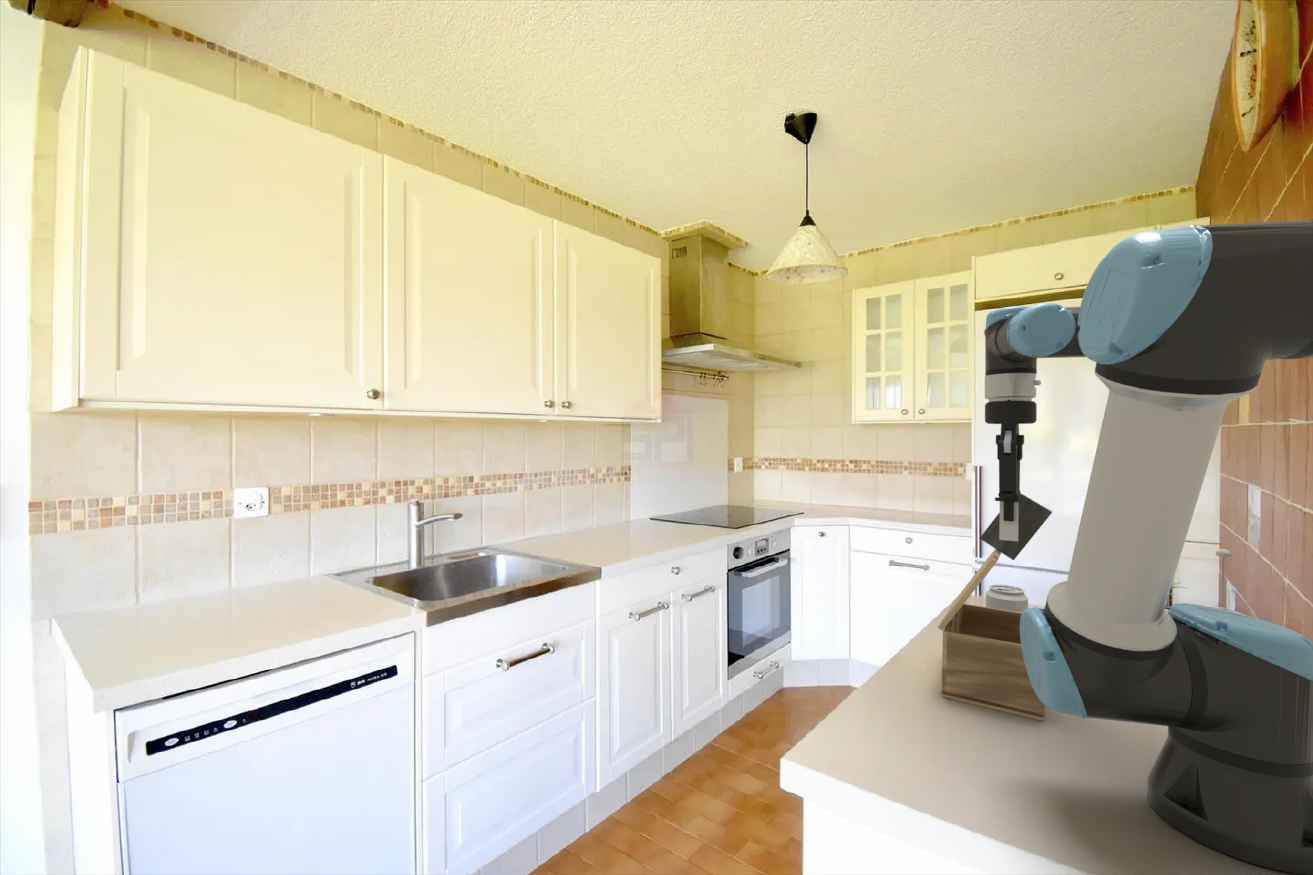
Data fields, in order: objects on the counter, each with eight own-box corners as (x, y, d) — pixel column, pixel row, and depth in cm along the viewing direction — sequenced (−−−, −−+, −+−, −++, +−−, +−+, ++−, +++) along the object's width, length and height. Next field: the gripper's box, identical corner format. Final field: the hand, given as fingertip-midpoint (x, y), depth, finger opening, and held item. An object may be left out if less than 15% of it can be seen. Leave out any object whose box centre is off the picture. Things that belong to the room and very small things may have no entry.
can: (977, 638, 124) (978, 582, 124) (1014, 639, 124) (1014, 583, 124) (997, 651, 117) (997, 591, 117) (1035, 652, 116) (1036, 592, 116)
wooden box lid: (1051, 518, 88) (1012, 495, 91) (954, 639, 95) (920, 614, 98) (1052, 506, 104) (1018, 486, 107) (969, 609, 112) (940, 589, 115)
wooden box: (1043, 721, 88) (1045, 649, 88) (941, 696, 96) (942, 631, 96) (1045, 676, 105) (1046, 616, 105) (958, 658, 113) (959, 602, 113)
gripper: (1034, 397, 91) (1033, 548, 91) (1038, 402, 103) (1037, 535, 103) (980, 398, 96) (979, 543, 96) (989, 403, 108) (988, 531, 108)
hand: (1009, 539), depth 99 cm, fingers closed on wooden box lid, 2 cm apart
